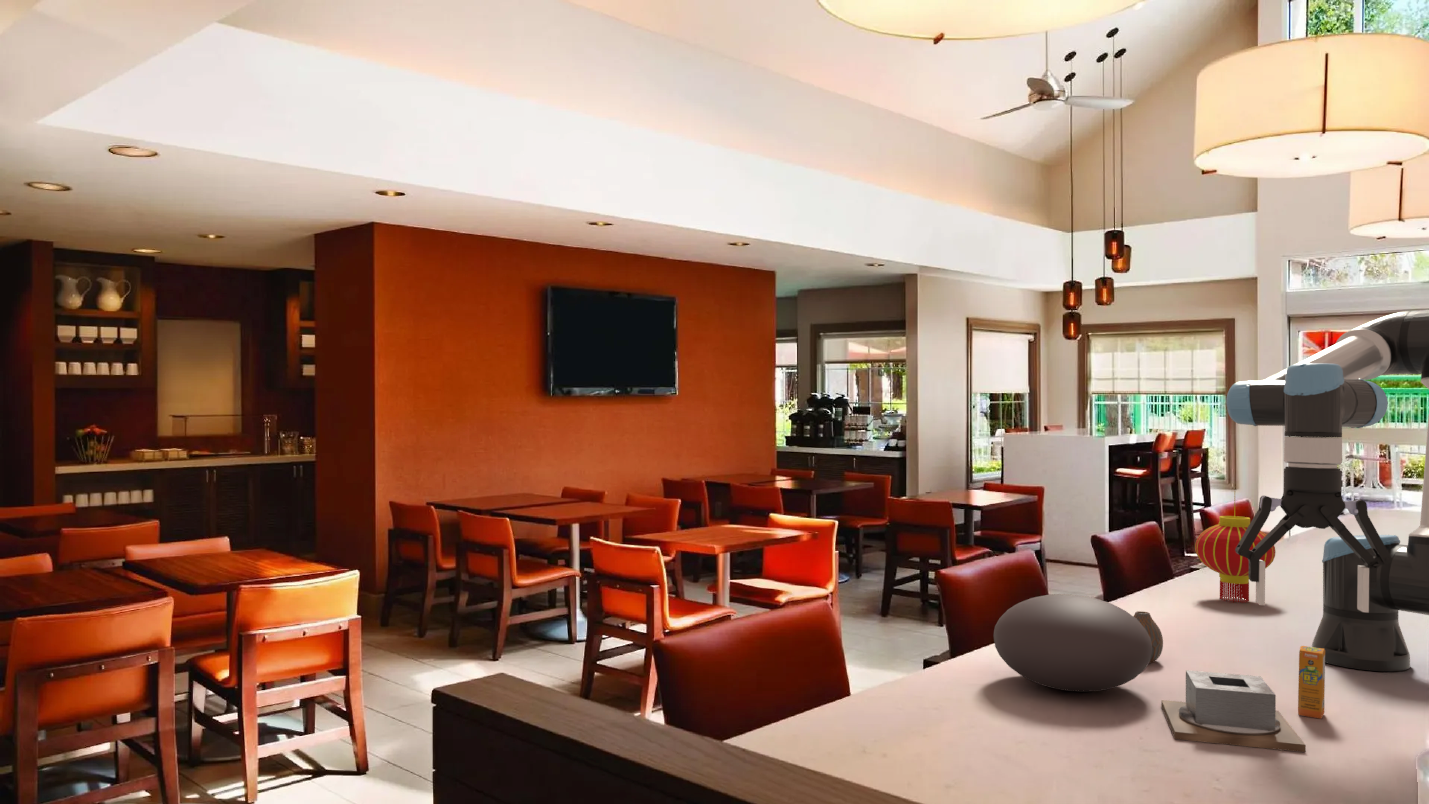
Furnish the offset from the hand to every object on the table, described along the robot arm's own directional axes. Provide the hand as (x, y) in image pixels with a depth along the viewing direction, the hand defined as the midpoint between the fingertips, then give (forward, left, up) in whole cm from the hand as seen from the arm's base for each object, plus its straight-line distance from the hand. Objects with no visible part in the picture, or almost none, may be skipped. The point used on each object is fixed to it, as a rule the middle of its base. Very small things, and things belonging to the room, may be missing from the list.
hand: (1310, 607), depth 150 cm
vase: (+21, -27, -16) cm, 38 cm away
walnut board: (+13, +11, -16) cm, 23 cm away
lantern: (-6, -98, -16) cm, 100 cm away
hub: (+13, +11, -16) cm, 23 cm away
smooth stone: (+34, -4, -16) cm, 38 cm away
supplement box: (0, 0, -16) cm, 16 cm away
